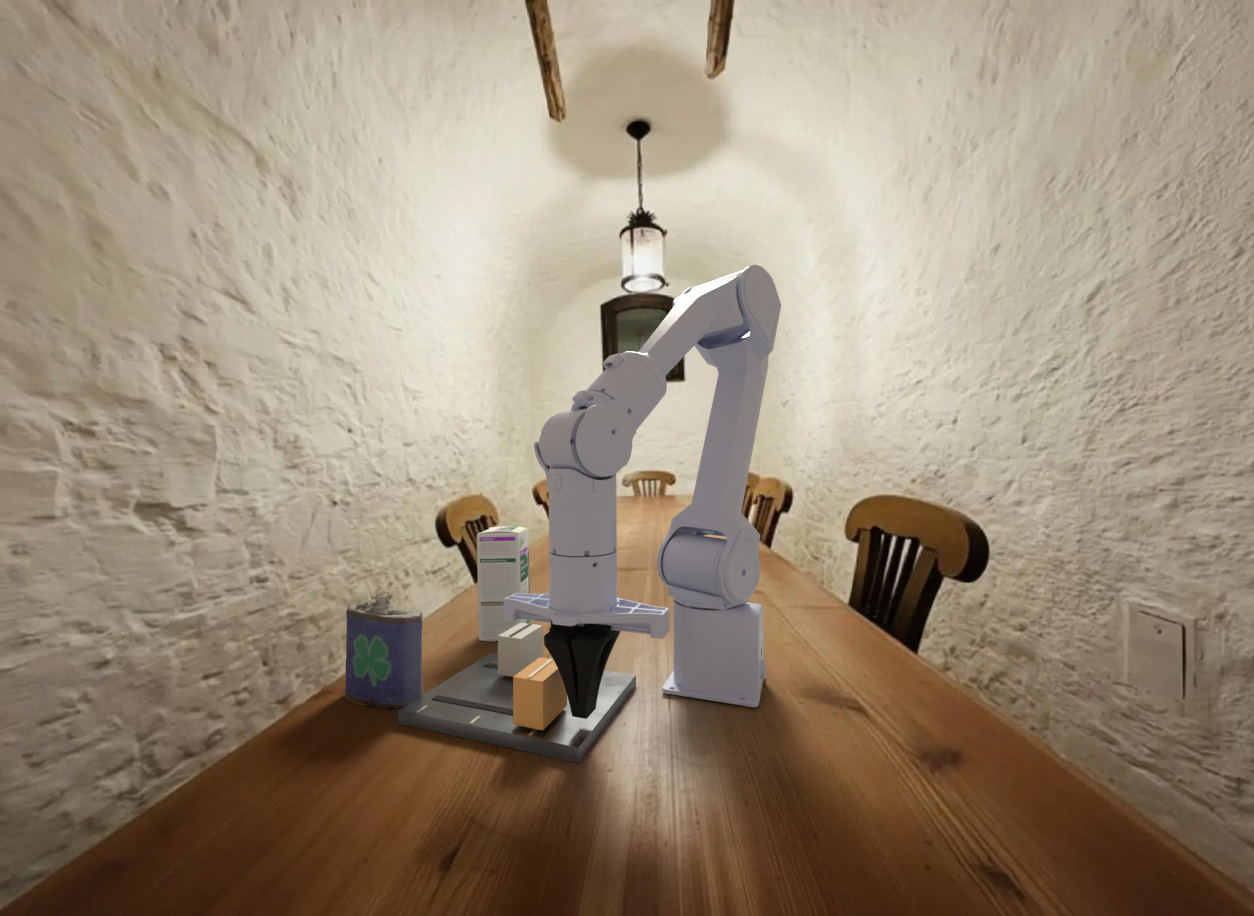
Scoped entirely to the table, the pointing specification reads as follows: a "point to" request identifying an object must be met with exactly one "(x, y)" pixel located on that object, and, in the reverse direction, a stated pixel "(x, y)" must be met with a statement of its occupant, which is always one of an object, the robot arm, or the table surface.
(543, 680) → the orange fader
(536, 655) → the white fader knob
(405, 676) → the flask
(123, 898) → the table surface
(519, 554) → the syrup box
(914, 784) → the table surface
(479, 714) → the grey slotted tray
